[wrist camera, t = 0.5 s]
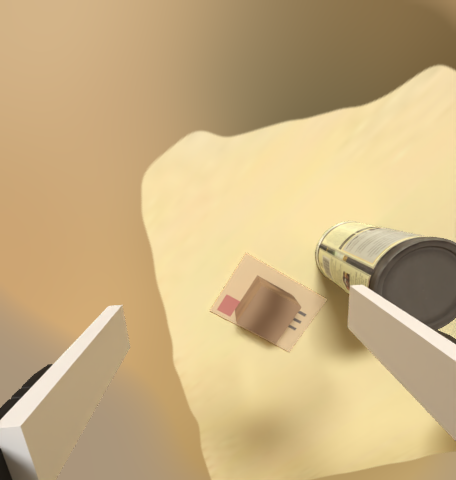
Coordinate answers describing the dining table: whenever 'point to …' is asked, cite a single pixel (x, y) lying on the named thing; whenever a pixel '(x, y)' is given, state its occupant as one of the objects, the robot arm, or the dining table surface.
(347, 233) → the coffee can
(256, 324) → the walnut block
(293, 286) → the letter
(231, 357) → the dining table surface
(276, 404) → the dining table surface
